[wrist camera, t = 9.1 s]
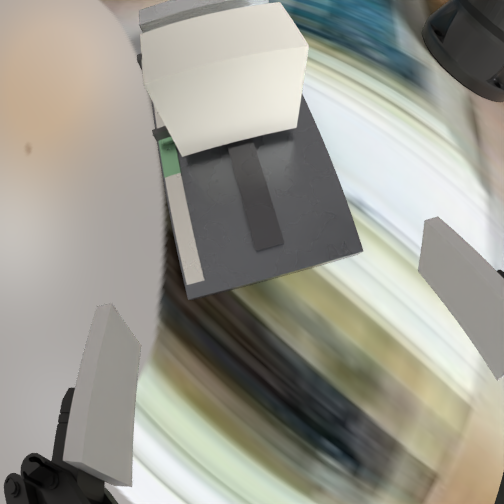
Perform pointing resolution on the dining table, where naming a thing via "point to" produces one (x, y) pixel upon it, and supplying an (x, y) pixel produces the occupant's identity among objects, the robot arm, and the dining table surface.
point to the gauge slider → (225, 76)
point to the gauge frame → (250, 194)
